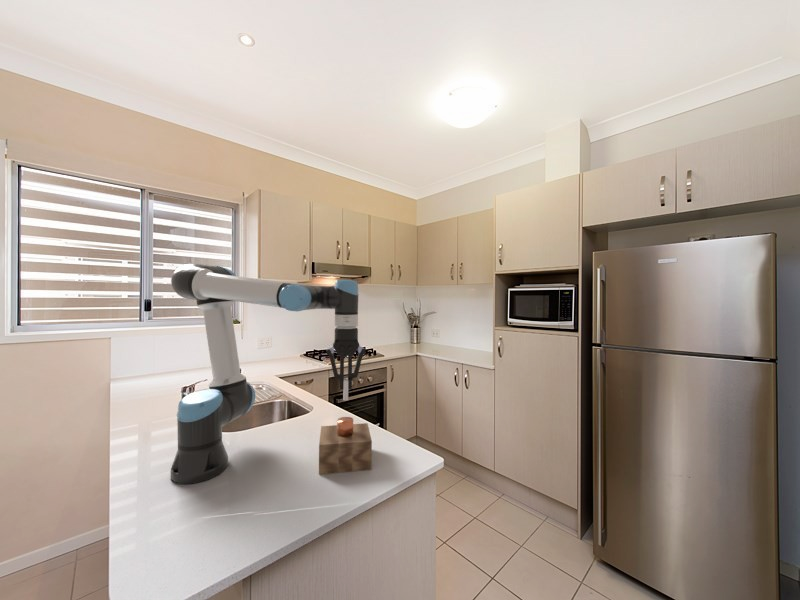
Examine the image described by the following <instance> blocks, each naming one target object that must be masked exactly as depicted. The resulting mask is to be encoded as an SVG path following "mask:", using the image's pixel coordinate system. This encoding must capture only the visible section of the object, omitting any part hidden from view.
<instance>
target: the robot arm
mask: <svg viewBox="0 0 800 600" xmlns="http://www.w3.org/2000/svg"><path fill="white" fill-rule="evenodd" d="M170 279H171V280H170V281H171V282H170V284H171V287H172V290H173V291H174V292H175V293H176V294H177V295H178V296H180V297H182V298H183V299H187V300H195V301H196V306H197V308H199V309H201V311H203V313H202V314H203V318H204V325H205V333H206V339H207V345H208V346H207V347H208V351H209V352H208V353H209V360H210V361H209V362H210V366H211V367H210V368H211V374H212V380H211V382H210V383H209V384H208V387H209V388H208V389H207V388H206V389H201V390H200V391H199V390H197V391H193V392H191V393H189V394H187V395H185V396H184V397H183V398H181V399H180V401H179V402H178V406H177V412H176V417H177V420H176V421H177V451H176V454H175V457H174V460H173V463H172V464H171V468H170V480H171V479H172V480H173V481H174V483H175V482H177V483H176V484H179V483H181V485H189V484H190V485H191V484H196V483H201V482H204V481H208V480H211V479H213V478H215V477H217V476H219V475H220V474H222V473H223V472H224V471H226V469H227V468H228V466H229V455H228V452H227V450H226V448H225V445H224V443H223V427H224V426H226V425H228V424H230V423H231V422H233V421H235V420H236V419H237V420H238V419H239V418H241V417H242V416H244V415H246V413H248V412H249V411H250V410H251V409H252V408H253V406H254V404H255V400H256V391H255V388H254V387H253V385H251V383H250V382H248V381H247V377H246V376H245V375H244V374H242V373H241V367H240V360H239V354H238V346H237V339H236V333H235V326H234V320H233V319H234V318H233V312H232V307H233V305H234V304H235V303H236V302H240V303H247V304H254V305H261V306H265V307H266V306H268V307H274V308H279V309H285V310H287V311H289V312H301V311H306V310H307V311H309V310H310V311H311V310H318V309H321V310H322V309H324V310H326V309H327V310H328V309H329V310H334V327H335V328H334V341H333V343H332V346H330V347H329V348H326V349H325V350H326V351H325V352H326V354H327V356H328V357H329V360H330V365H331V368H332V372H333V377H334V379H338V380H339V390H340V391H343V393H342V396H343V397H342V399H343V401H349V390H352V388H353V385H352V384H353V379H356V378H358V376H359V371H360V369H361V368H360V367H361V364H362V359H363V356H364V355H365V353H366V348H365V347H362V346H361V345H360V343H359V329H358V326H359V284H358V282H357V280H350V279H337V280H335V282H334V285H331V286H330V285H329V286H327V285H310V284H309V285H306V284H298V283H288V282H283V281H282V282H281V281H273V280H267V279H260V278H259V279H258V278H253V277H244V276H239V275H236V274H235V272H233V271H232V270H231V269H229V268H226V267H222V266H219V265H217V266H216V265H207V264H199V263H198V264H197V263H188V264H187V263H186V264H184V265H182V266H179V267H178V268H177V269H175V270H174V272H173V273H172V276H171V278H170ZM335 351H336V353H337V354H338V356H339V373H338V369H337V364H336V359H335V355H334V353H335ZM356 351H357V353H358V355H357V358H356V362H355V365H354V371H353V355H354V354H355V353H356ZM345 357H347V377H346V378H345ZM172 480H171V481H172ZM173 481H172V482H173Z"/></svg>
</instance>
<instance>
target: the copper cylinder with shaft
mask: <svg viewBox="0 0 800 600" xmlns="http://www.w3.org/2000/svg"><path fill="white" fill-rule="evenodd" d="M336 421H337V424H336V425H337V435H338V436H340V437H348V436H351V435H352V434H353V424H354V418H353V417H351V416H341V417H339V418H337V420H336Z"/></svg>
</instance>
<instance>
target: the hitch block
mask: <svg viewBox="0 0 800 600" xmlns="http://www.w3.org/2000/svg"><path fill="white" fill-rule="evenodd" d="M320 427H321V428H320V434H319V444H318V475H329V474H337V473H338V474H340V473H348V472H349V473H351V472H359V471H370V470H372V464H373V463H372V457H373V456H372V451H373V449H372V446H373V441H372V436H371V432H370V428H369V423H367V422H366V423H353V434H352V435H351V436H348V437H340V436H338V435H337V424H336V425H333V424H332V425H321V426H320Z"/></svg>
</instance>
